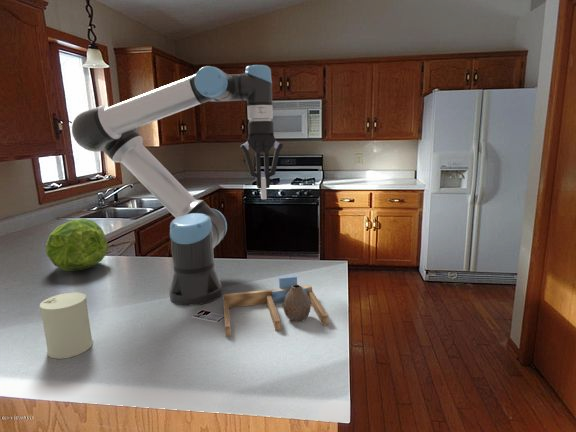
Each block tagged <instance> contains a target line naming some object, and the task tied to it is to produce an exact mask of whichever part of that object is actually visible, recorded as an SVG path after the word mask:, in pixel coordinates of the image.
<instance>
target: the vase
mask: <svg viewBox="0 0 576 432" xmlns="http://www.w3.org/2000/svg"><path fill="white" fill-rule="evenodd" d="M302 287H303V286H302V285H301V284H298V283H297V284H296V285H292V287H291V289H290V291H289V292H288V293H287V294H286V296H285V298H284V303H282V305H283V312H284V315H285V316H286V317H287V319H289V321H291V322H295V323H299V322H303V321H305V320H306V319H308V317H309V315H310V312H311V307H312V305H311V303H310V299H309V296H308V295H307V293H306V292H305V291H304V290H303V289H302Z"/></svg>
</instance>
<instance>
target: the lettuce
mask: <svg viewBox="0 0 576 432" xmlns="http://www.w3.org/2000/svg"><path fill="white" fill-rule="evenodd" d="M108 246H109V244H108V241H107V237H106V234H105V233H104V230H103V228H102V227H101V226H100V225H99V224H97V223H96V222H95V221H94V220H90V219H87V218H86V219H85V218H79V219H74V220H70V221H67V222H65V223H63V224H60V225H59V226H57V227H56V228H55V229H54V230H53V231H52V232H51V233H50V234H49V235H48V237H47V240H46V243H45V251H46V256H47V257H48V259H49V260H50V262H52V264H53V265H54V266H55V267H57V268H59V269H61V270H63V271H66V272H67V271H68V272H70V271H71V272H77V271H82V270H85V269H89V268H92V267H94V266H95V265H97V264H99V263H100V262H102V261H103V259H104V258H105V257H106V256H107V253H108Z"/></svg>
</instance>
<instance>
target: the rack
mask: <svg viewBox="0 0 576 432" xmlns="http://www.w3.org/2000/svg"><path fill="white" fill-rule="evenodd" d="M301 287H302V289H303V290H304V291H305V292H306V293H307V295H308V296H309V299H310V303H311V307H312V309H313V311H314V312H315V313H316V315H317V317H318V319H319V321H320V323H321V325H322V326H328V325H329V317H328V316H329V315H328V313H327V312H326V311H325V309H324V307H323V306H322V304H321V302H320V300H319V299H318V298H317V295H316V294H315V293H314V291H313V286H312V285H307V286H305V285H304V286H301ZM290 289H291V288H282V289H279V288H273V289H263V290H253V291H243V292H232V293H224V294H223V293H222V298H223V299H222V300H223V315H224V332H225V337H231V336H232V333H231V332H232V331H231V320H230V309H229V308H235V307H246V306H254V305H255V306H256V305H266V306H267V309H268V311H269V315H270V317H271V321H272V325H273V329H274V331H275V332H279V331H281V319H280V316H279V314H278V310H277V308H276V305H275V304H283V303H284V298H285V296H286V294H287V293H288V292H289V291H290Z"/></svg>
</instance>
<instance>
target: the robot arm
mask: <svg viewBox="0 0 576 432" xmlns="http://www.w3.org/2000/svg"><path fill="white" fill-rule="evenodd" d="M235 101H246V107H247V120H249V122H248V123H247V130H248V137H247V139H246V142H244V143H243V144H241V145H240V148H241V151H242V152H243V153H244V156H245V157H244V158H245V159H246V160H245V161H246V163H247V167H248V170H249V173H250V176H251V177H253V178H256V187H257V189H260V199H261V200H267V199H268V198H267V189H270V185H271V184H270V178H271V177H272V176H275V175H276V172H277V167H278V163H279V156H280V152H281V150H282V148H283V146H284V145H283V143H281V142H278V141H277V140H276V138H275V134H274V122H273V118H274V113H273V80H272V69H271V68H270V67H269V66H268V65H265V64H252V65H246V67H245V71H244V73H238V74H237V73H235V74H233V73H232V74H230V73H229V74H228V73H227V72H224V71H223V70H222V69H220V68H218V67H216V66H211V65H206V66H205V65H204V66H203V67H201V68H199V70H198V71H196V73H194V74H193V75H189V76H187V77H185V78H184V77H183V78H182V79H179V80H176V81H174V82H171V83H169V84H166V85H163V86H160V87H158V88H155V89H153V90H150V91H148V92H145V93H142V94H139V95H137V96H134V97H132V98H129V99H127V100H123V101H121V102H118V103H115V104H113V105H111V106H108V105H105V104H103V105H100V106H97V107H94V108H92V109H91V108H90V109H89V110H85V111H83V112H80V113H79V114H78V115H77V116H76V117H75V118H74V120H73V121H72V124H71V125H72V126H71V133H72V137H73V138H74V141H75V142H76V144H78V145H79V146H80V147H82V148H83V149H84V150H87V151H88V152H89V151H90V152H104V153H105V154H106V156H107V157H108V158H109V159H111V161H112V162H114V163H121V164H122V165H124V167H125V168H126V170H128V171H129V172H130V173H131V174H132V176H134V177H135V178H136V179H137V180H138V181H139V182H140V183H141V184H142V186H144V187H145V189H147V190H148V191H149V192H150V193H151V194H152V196H154V198H155V199H156V200H158V202H159V203H161V205H162V206H163V207H164V208H166V210H168V212H169V213H170V214H171V215H172V216H173V217H174V219H172V220H171V221H170V225H169V238H170V245H171V246H170V247H171V255H172V265H173V266H172V268H173V275H172V279H171V282H170V287H169V290H168V291H169V299H170V301H171V302H172V303H174V304H177V305H183V306H194V305H195V306H196V305H202V304H207V303H210V302H213V301H215V300H217V299H218V298H220V297H221V295H223V285H222V282H221V280H220V278H219V275H218V274H217V270H216V268H215V258H214V257H215V256H214V254H215V253H214V249H215V248H216V246H218V245H219V244H220V243H221V242H222V241H223V240H224V237H225V236H226V233H227V230H228V223H227V220H226V217H225V216H224V214H223V213H222V212H221V211H220V210H217V209H215V208H211V207H210V206H209V205H208V204H207V203H206V201H204V200H203V199H196V198H195V197H194V196H193V195H192V194H191V193H190V192H189V191H188V190H187V189H186V188H185V187H184V186H183V185H182V183H180V182H179V181H178V180H177V178H175V176H173V174H171V172H170V171H169V170H168V169H167V168H166V167H165V166H164V165H163V164H162V162H160V161H159V160H158V159H157V158H156V157H155V156H154V155H153V154H152V152H151V151H149V150H148V148H146V147H145V146H144V144H143V143H144V140H143V139H144V138H143V136H142V135H140V134H139V132H138V128H139V127H143V126H145V125H148V124H150V123H153V122H157V121H159V120H161V119H163V118H166V117H169V116H173V115H175V114H177V113H180V112H182V111H186V110H188V109H191V108H193V107H196V106H198V105H202V104H205V103H207V102H213V103H214V102H216V103H221V102H235ZM249 147H250V148H251V149H252V151H253V152H255V153H254V156H255V168H254V167H253V162H252V159H251V156H250V152H249V149H250V148H249ZM273 147H274V149H275V150H274V153H273V156H272V157H273V159H272V162H271V168H270V158H269V157H270V151H271V149H272V148H273ZM262 152H263V163H264V164H263V165H264V166H263V167H264V169H263V170H264V177H262V168H261V153H262Z"/></svg>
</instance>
